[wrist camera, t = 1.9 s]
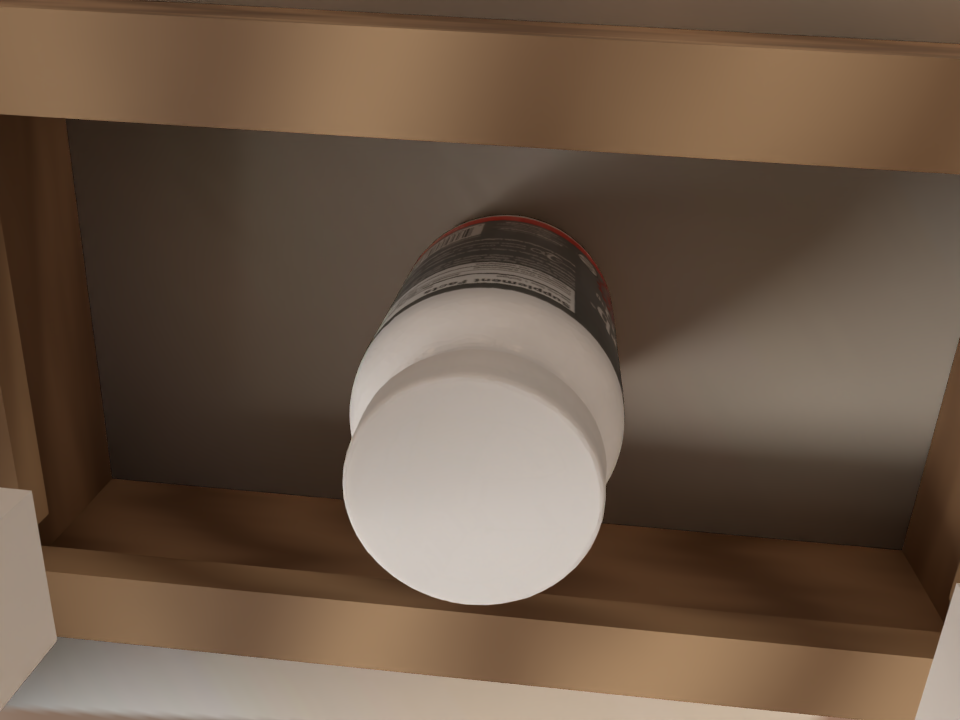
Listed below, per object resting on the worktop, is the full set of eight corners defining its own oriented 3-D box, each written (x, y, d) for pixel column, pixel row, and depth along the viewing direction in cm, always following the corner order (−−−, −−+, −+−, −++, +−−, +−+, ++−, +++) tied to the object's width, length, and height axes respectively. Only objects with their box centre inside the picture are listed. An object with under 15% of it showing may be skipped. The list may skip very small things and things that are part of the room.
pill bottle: (594, 417, 26) (606, 654, 17) (399, 391, 26) (305, 610, 17) (627, 222, 24) (662, 373, 15) (413, 196, 24) (314, 328, 15)
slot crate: (85, 503, 29) (-31, 627, 23) (11, -7, 23) (-167, -3, 17) (928, 581, 27) (1020, 736, 21) (1082, 50, 21) (1263, 75, 16)
